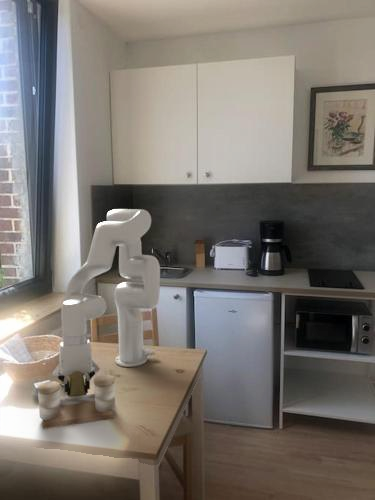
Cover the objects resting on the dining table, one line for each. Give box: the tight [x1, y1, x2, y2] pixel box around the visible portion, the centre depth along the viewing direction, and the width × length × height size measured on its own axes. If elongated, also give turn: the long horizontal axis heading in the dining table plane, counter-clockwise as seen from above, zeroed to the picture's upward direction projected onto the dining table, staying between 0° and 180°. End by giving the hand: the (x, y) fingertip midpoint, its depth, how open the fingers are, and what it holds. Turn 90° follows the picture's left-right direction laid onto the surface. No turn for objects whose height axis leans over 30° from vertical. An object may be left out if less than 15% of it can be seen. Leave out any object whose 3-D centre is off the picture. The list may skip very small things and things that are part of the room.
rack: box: [38, 374, 116, 429], centre depth 129 cm, size 22×10×10 cm, turn 105°
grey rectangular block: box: [33, 379, 50, 400], centre depth 142 cm, size 5×4×4 cm
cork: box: [68, 371, 88, 397], centre depth 138 cm, size 6×6×11 cm
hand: (77, 391), depth 139 cm, fingers open, 5 cm apart
